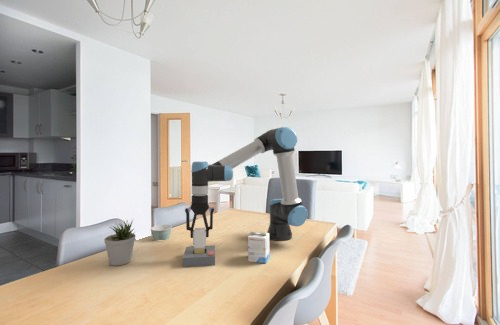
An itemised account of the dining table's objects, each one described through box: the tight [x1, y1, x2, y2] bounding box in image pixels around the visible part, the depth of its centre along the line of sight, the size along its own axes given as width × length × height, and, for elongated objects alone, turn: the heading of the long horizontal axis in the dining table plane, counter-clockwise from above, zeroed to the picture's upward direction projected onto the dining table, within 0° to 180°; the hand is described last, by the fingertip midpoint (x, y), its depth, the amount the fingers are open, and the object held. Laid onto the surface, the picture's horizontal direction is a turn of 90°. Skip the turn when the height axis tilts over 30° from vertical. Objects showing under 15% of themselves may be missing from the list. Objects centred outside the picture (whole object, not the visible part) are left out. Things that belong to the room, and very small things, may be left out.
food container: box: [150, 224, 173, 241], centre depth 147 cm, size 12×12×6 cm
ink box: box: [247, 231, 271, 264], centre depth 117 cm, size 9×8×13 cm
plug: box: [193, 227, 206, 254], centre depth 116 cm, size 4×4×12 cm
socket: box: [182, 244, 216, 268], centre depth 116 cm, size 14×14×5 cm
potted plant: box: [104, 219, 137, 267], centre depth 113 cm, size 13×14×20 cm
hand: (199, 244), depth 116 cm, fingers closed on plug, 4 cm apart
